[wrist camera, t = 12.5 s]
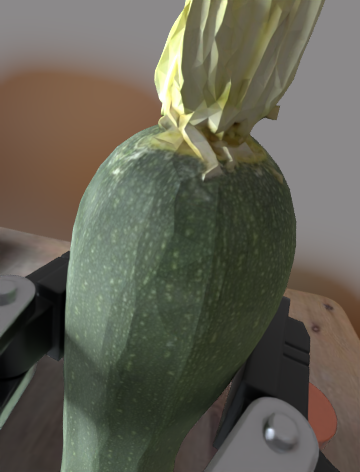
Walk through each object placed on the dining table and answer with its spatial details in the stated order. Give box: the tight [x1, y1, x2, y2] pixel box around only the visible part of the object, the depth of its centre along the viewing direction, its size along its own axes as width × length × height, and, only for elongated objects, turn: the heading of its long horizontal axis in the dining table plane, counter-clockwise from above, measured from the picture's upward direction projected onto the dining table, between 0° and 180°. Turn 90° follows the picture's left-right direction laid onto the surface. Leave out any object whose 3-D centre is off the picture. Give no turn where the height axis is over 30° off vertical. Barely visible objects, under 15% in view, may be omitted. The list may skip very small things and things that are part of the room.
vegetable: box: [61, 0, 325, 472], centre depth 8 cm, size 4×4×20 cm
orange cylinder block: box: [308, 382, 337, 452], centre depth 25 cm, size 5×5×8 cm
